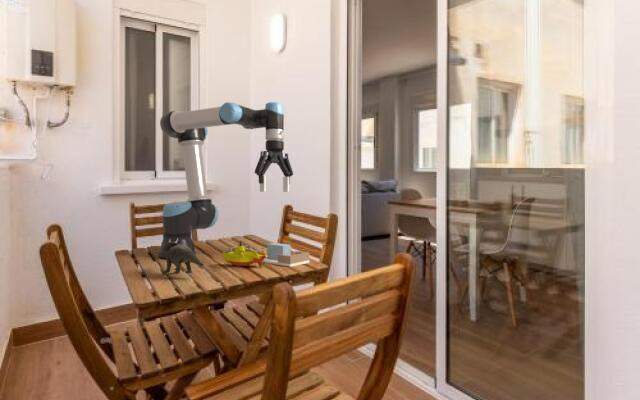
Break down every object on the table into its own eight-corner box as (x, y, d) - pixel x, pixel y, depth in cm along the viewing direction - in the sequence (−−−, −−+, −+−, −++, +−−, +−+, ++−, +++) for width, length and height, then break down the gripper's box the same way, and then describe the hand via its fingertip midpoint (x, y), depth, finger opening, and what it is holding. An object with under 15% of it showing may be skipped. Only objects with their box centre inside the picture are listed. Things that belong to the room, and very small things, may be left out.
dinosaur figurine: (206, 274, 132) (206, 242, 132) (184, 279, 126) (183, 244, 125) (175, 266, 146) (175, 237, 146) (153, 270, 140) (153, 239, 140)
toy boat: (260, 269, 142) (260, 242, 142) (218, 266, 148) (218, 240, 148) (268, 266, 148) (268, 240, 148) (227, 263, 154) (227, 238, 154)
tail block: (267, 258, 159) (267, 244, 159) (275, 257, 163) (275, 243, 162) (282, 260, 153) (282, 245, 153) (290, 259, 157) (290, 244, 157)
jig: (228, 256, 169) (228, 247, 169) (248, 253, 178) (248, 245, 178) (290, 266, 146) (290, 256, 146) (309, 262, 155) (309, 252, 155)
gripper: (258, 136, 147) (258, 191, 147) (301, 143, 166) (301, 191, 166) (245, 138, 151) (245, 191, 152) (288, 144, 171) (288, 191, 171)
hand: (274, 191), depth 159 cm, fingers open, 13 cm apart
